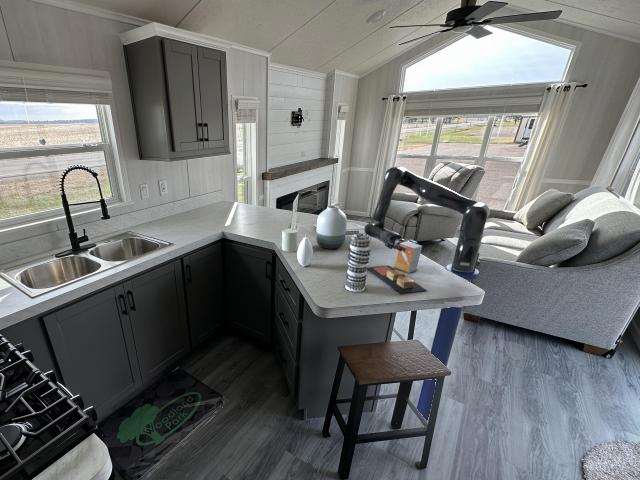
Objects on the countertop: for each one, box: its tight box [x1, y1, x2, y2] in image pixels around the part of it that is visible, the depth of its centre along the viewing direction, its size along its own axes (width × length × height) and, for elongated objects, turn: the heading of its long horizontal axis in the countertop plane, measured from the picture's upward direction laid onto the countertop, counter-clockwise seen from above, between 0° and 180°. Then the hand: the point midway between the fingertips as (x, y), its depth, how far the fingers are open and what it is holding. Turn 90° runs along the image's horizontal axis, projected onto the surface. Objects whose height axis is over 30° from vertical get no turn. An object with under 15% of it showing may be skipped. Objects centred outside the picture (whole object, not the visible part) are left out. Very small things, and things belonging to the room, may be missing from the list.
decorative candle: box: [345, 232, 372, 293], centre depth 142 cm, size 9×9×25 cm
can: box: [281, 228, 299, 253], centre depth 193 cm, size 9×9×12 cm
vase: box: [315, 205, 348, 250], centre depth 193 cm, size 17×17×24 cm
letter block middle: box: [387, 269, 404, 281], centre depth 153 cm, size 5×5×3 cm
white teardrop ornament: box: [296, 235, 314, 267], centre depth 168 cm, size 8×8×18 cm
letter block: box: [397, 276, 416, 288], centre depth 146 cm, size 5×5×3 cm
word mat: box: [366, 265, 427, 295], centre depth 154 cm, size 12×28×1 cm, turn 10°
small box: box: [394, 241, 423, 274], centre depth 161 cm, size 8×6×13 cm
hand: (409, 248), depth 159 cm, fingers open, 8 cm apart
